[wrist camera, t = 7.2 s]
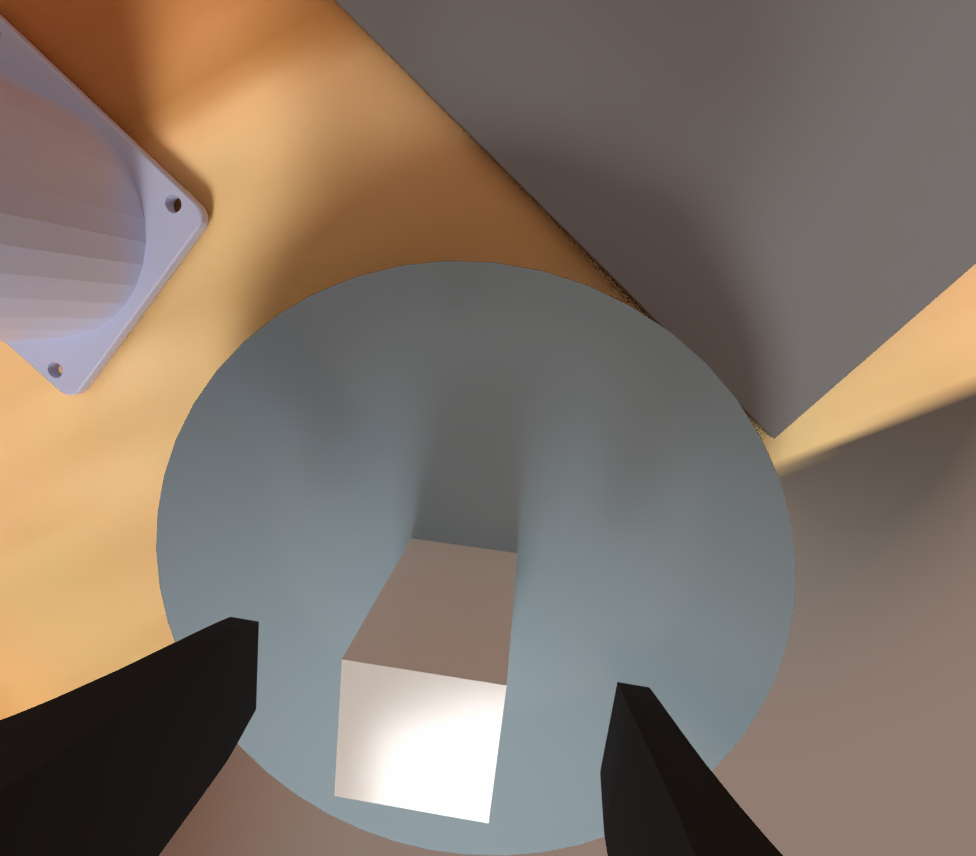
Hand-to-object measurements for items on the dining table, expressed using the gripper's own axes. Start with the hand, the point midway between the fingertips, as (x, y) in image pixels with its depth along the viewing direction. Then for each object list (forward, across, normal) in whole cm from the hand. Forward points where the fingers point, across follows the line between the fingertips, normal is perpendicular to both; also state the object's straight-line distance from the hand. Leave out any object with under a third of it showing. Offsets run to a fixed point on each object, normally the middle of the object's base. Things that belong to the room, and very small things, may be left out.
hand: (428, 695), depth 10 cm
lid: (+5, 0, 0) cm, 5 cm away
